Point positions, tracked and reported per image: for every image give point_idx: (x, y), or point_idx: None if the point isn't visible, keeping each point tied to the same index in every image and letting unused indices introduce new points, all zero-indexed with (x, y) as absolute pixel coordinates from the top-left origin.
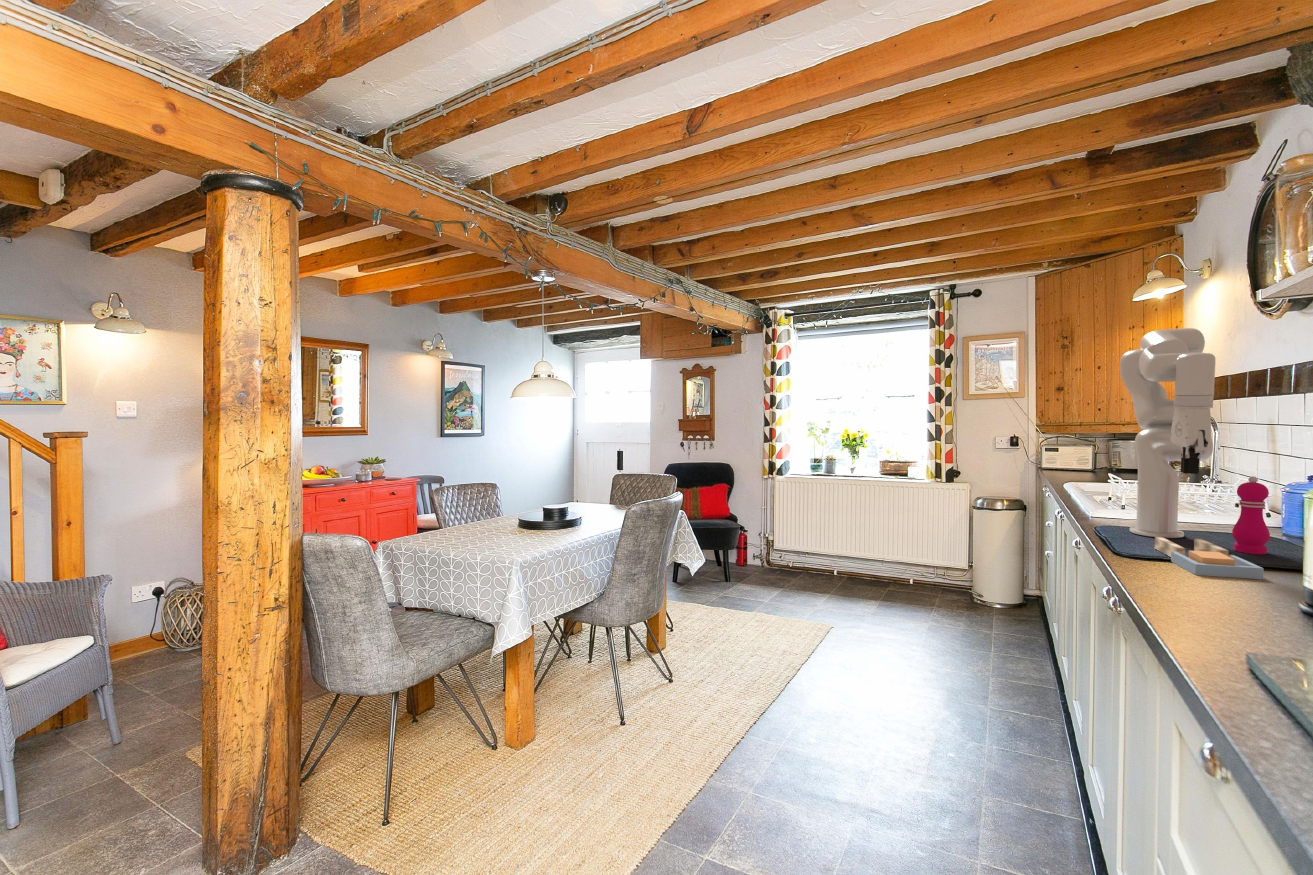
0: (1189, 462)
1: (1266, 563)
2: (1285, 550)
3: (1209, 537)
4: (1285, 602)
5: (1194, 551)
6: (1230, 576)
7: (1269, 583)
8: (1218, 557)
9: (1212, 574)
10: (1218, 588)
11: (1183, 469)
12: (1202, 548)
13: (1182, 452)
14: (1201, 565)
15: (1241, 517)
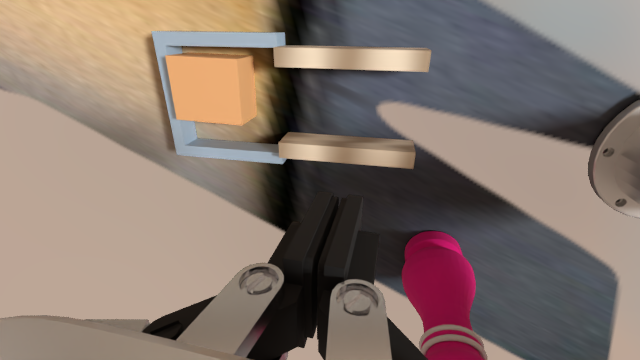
0: (273, 256)
1: None
2: None
3: (599, 259)
4: (48, 99)
5: (228, 68)
6: None
7: (164, 141)
8: (183, 94)
9: None
10: (77, 28)
11: (314, 201)
12: (367, 143)
13: (338, 319)
14: (155, 44)
15: (447, 297)
